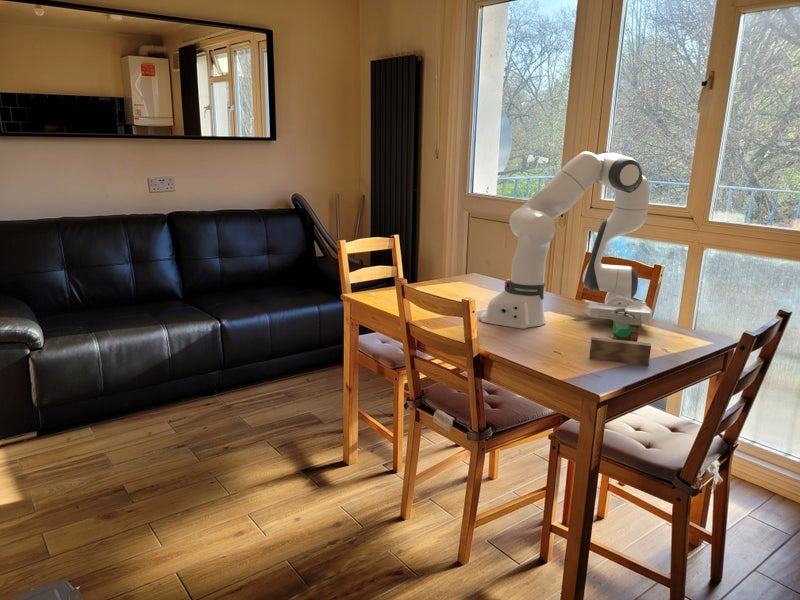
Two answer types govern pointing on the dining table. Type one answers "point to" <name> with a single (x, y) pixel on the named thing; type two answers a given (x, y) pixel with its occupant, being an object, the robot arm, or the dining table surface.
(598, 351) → the walnut bar
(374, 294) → the dining table surface
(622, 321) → the food container
